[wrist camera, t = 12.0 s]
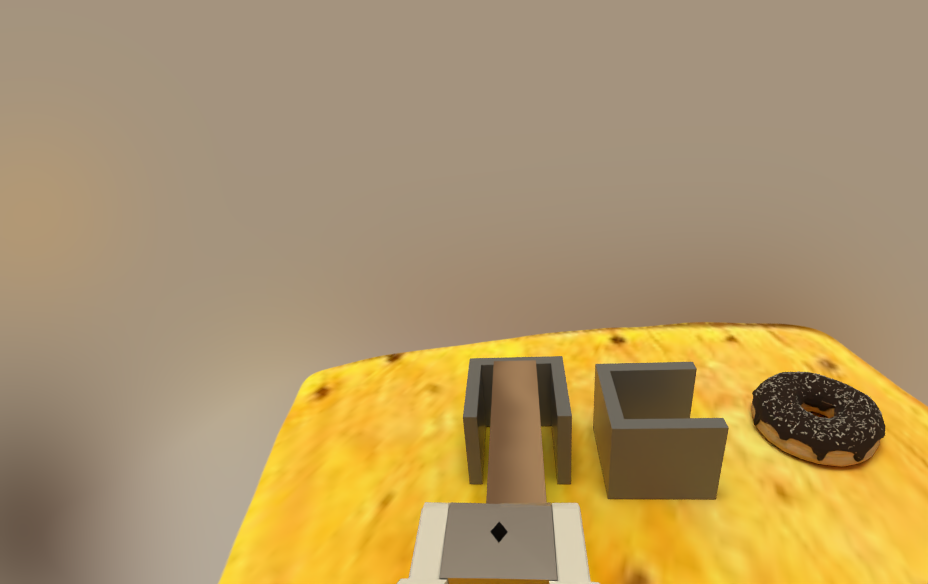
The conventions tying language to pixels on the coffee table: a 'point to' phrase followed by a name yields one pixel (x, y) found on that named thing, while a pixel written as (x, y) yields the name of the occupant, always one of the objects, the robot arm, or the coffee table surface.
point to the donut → (817, 418)
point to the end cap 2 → (655, 433)
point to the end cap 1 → (550, 405)
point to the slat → (515, 436)
